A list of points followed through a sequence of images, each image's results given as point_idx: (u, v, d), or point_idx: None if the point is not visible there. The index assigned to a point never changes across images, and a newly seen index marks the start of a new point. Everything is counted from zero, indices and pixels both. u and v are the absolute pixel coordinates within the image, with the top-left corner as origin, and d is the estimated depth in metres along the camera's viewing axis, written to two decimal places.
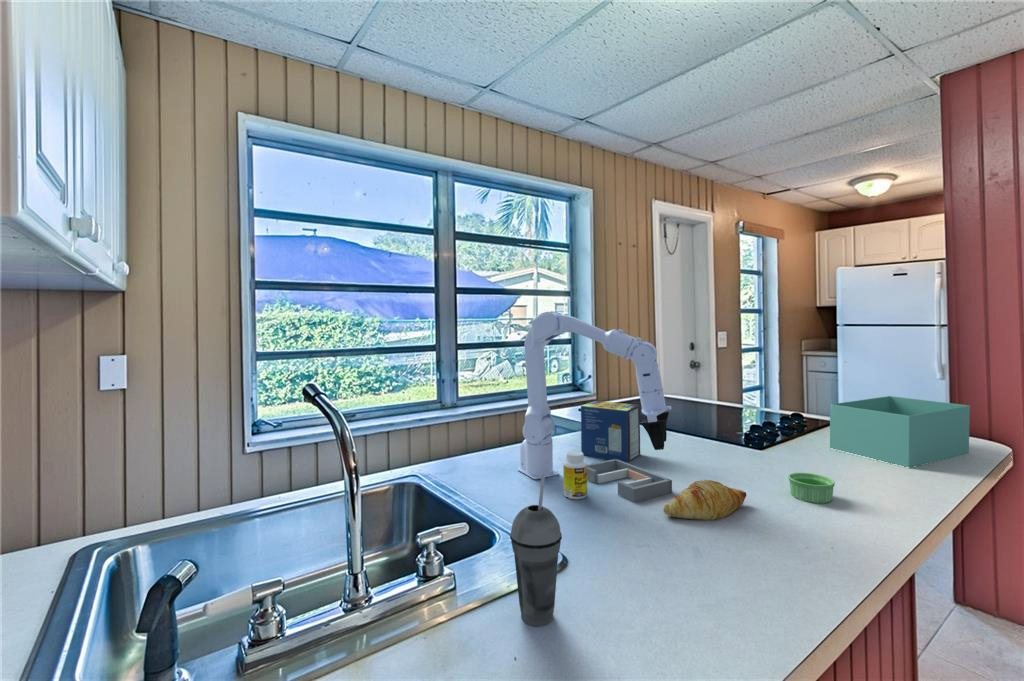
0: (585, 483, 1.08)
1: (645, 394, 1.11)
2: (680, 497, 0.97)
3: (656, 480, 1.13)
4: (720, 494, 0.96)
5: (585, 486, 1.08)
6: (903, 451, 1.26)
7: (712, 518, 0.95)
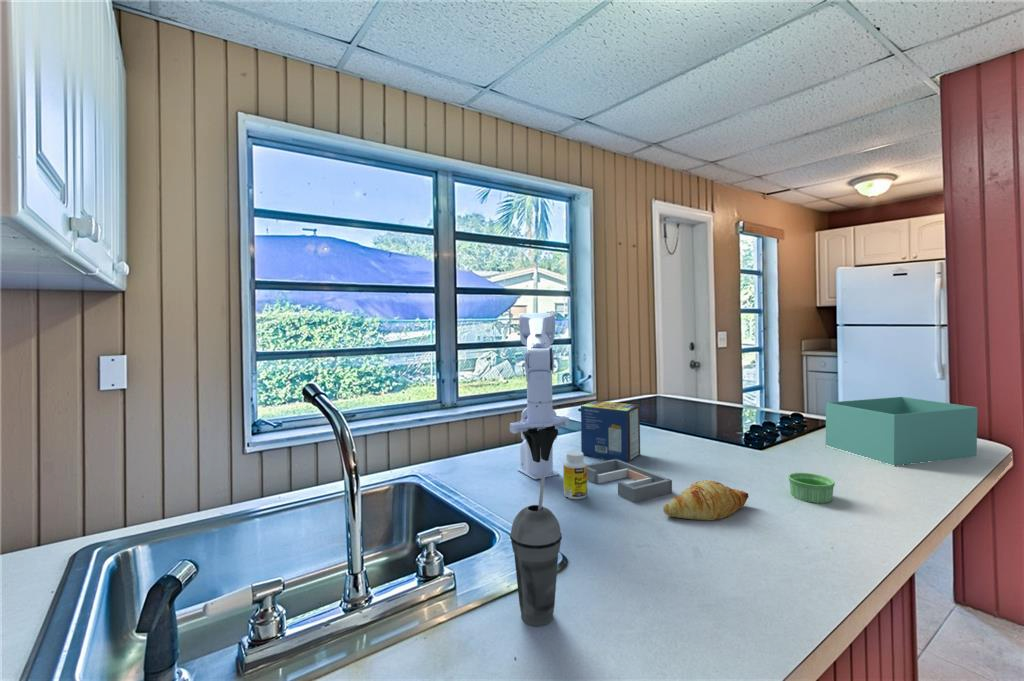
0: (585, 483, 1.08)
1: (527, 403, 1.04)
2: (680, 497, 0.97)
3: (656, 480, 1.13)
4: (720, 495, 0.95)
5: (585, 486, 1.08)
6: (889, 449, 1.28)
7: (712, 519, 0.94)
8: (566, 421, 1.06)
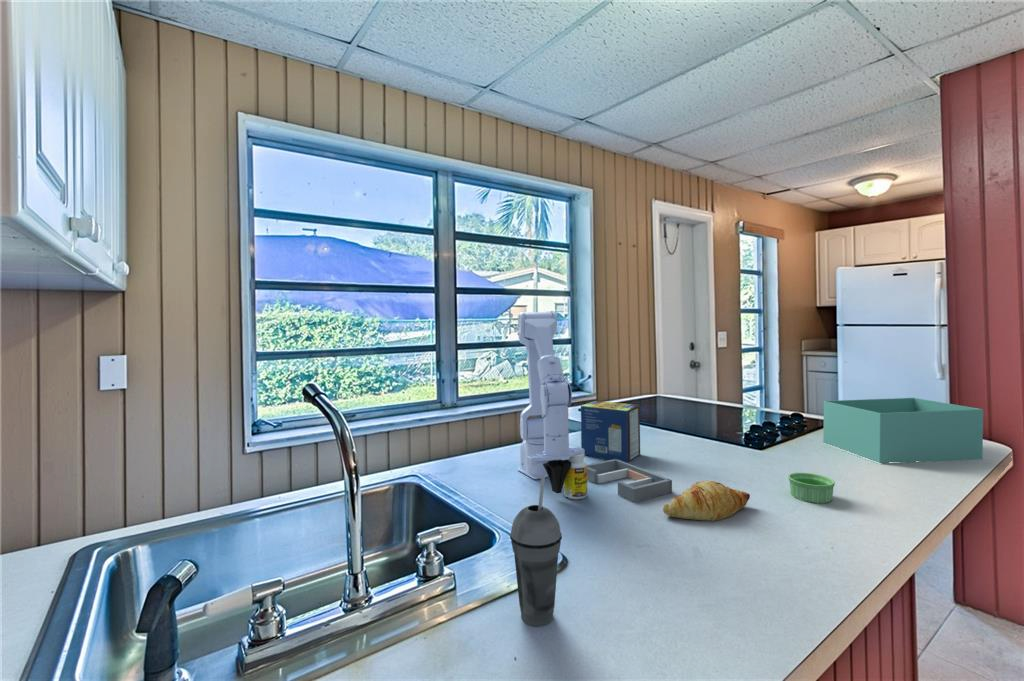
0: (585, 483, 1.08)
1: (544, 436, 1.06)
2: (680, 497, 0.97)
3: (656, 480, 1.13)
4: (721, 495, 0.95)
5: (585, 486, 1.08)
6: (875, 447, 1.30)
7: (712, 519, 0.94)
8: None
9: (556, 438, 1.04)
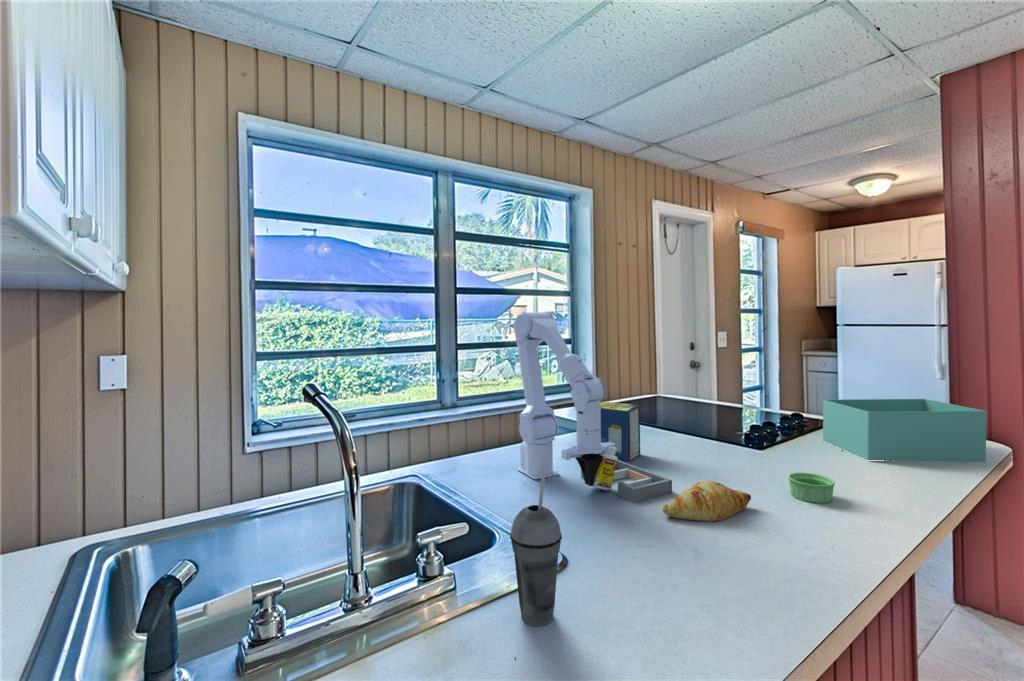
0: (612, 476, 1.11)
1: (577, 430, 1.10)
2: (680, 497, 0.97)
3: (656, 480, 1.13)
4: (721, 496, 0.95)
5: (611, 479, 1.11)
6: (864, 445, 1.32)
7: (712, 519, 0.94)
8: None
9: (589, 433, 1.08)
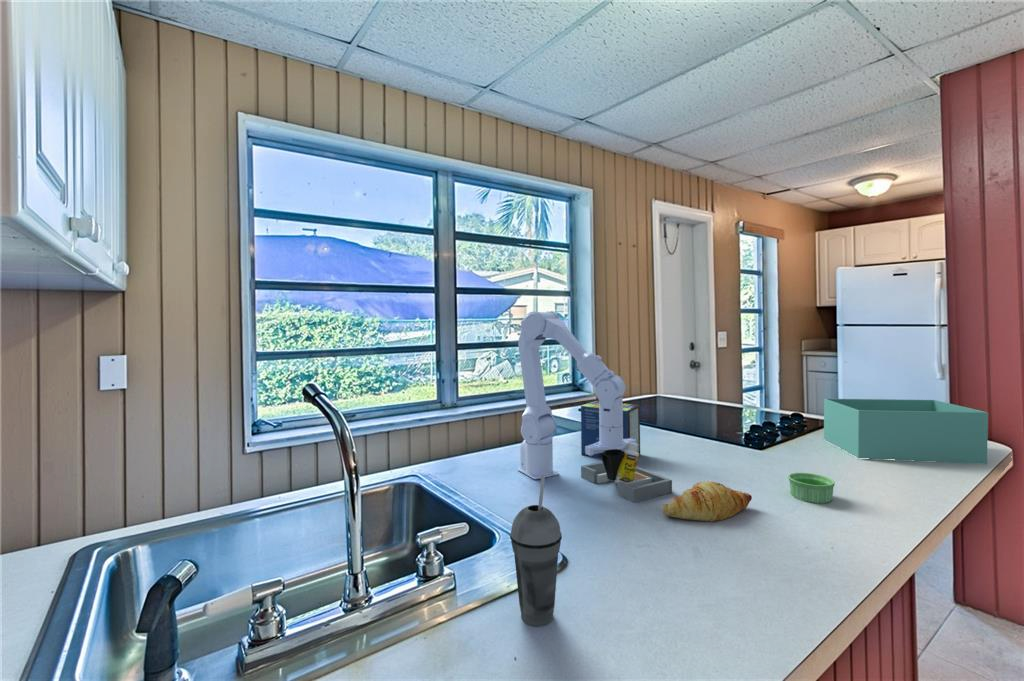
0: (633, 471, 1.14)
1: (599, 427, 1.14)
2: (680, 497, 0.97)
3: (656, 480, 1.13)
4: (720, 496, 0.95)
5: (633, 474, 1.14)
6: (855, 443, 1.34)
7: (712, 520, 0.94)
8: None
9: (612, 429, 1.11)
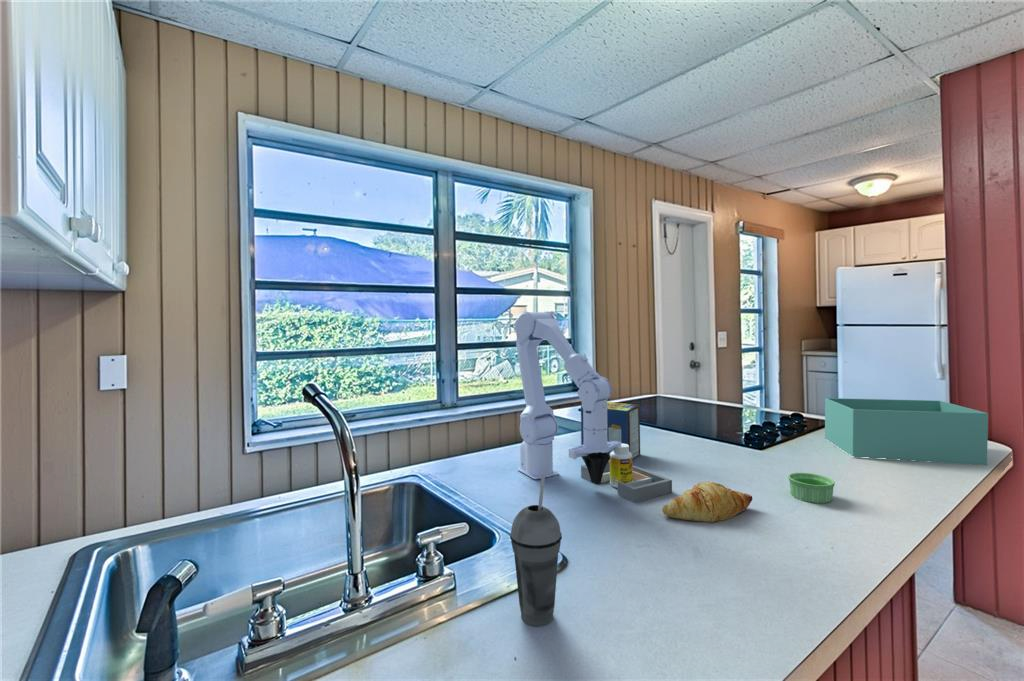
0: (630, 474, 1.14)
1: (583, 430, 1.11)
2: (680, 498, 0.97)
3: (656, 480, 1.13)
4: (721, 497, 0.94)
5: (630, 476, 1.14)
6: (850, 442, 1.36)
7: (712, 520, 0.94)
8: (618, 446, 1.14)
9: (596, 432, 1.09)
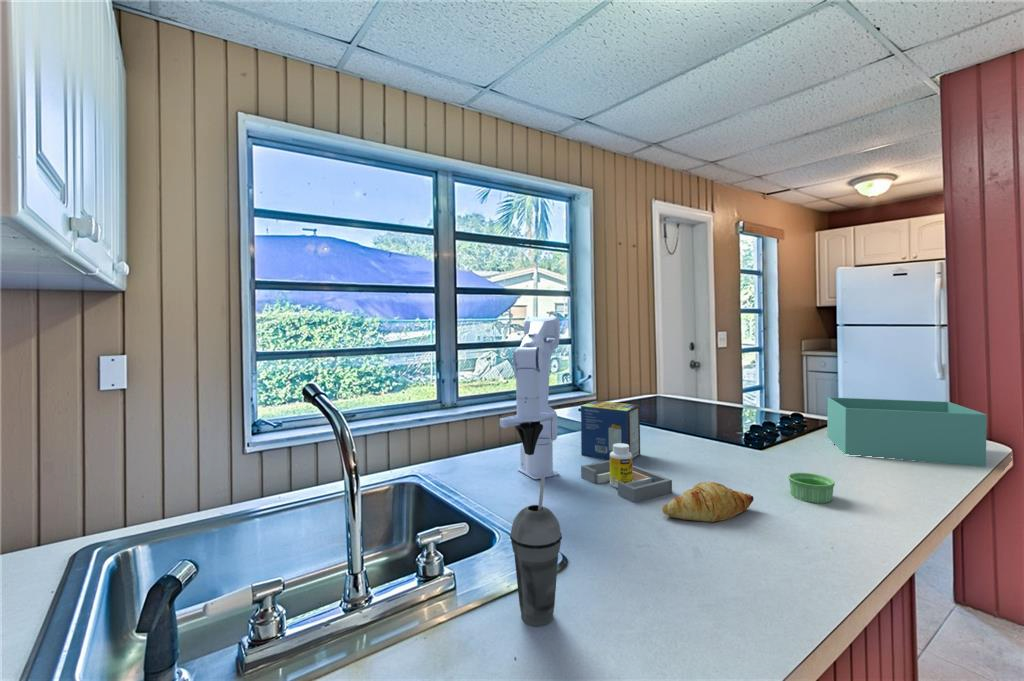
0: (630, 474, 1.14)
1: (516, 399, 1.09)
2: (680, 498, 0.97)
3: (656, 480, 1.13)
4: (721, 497, 0.94)
5: (630, 476, 1.14)
6: (843, 440, 1.38)
7: (712, 520, 0.94)
8: (554, 416, 1.12)
9: (527, 400, 1.07)
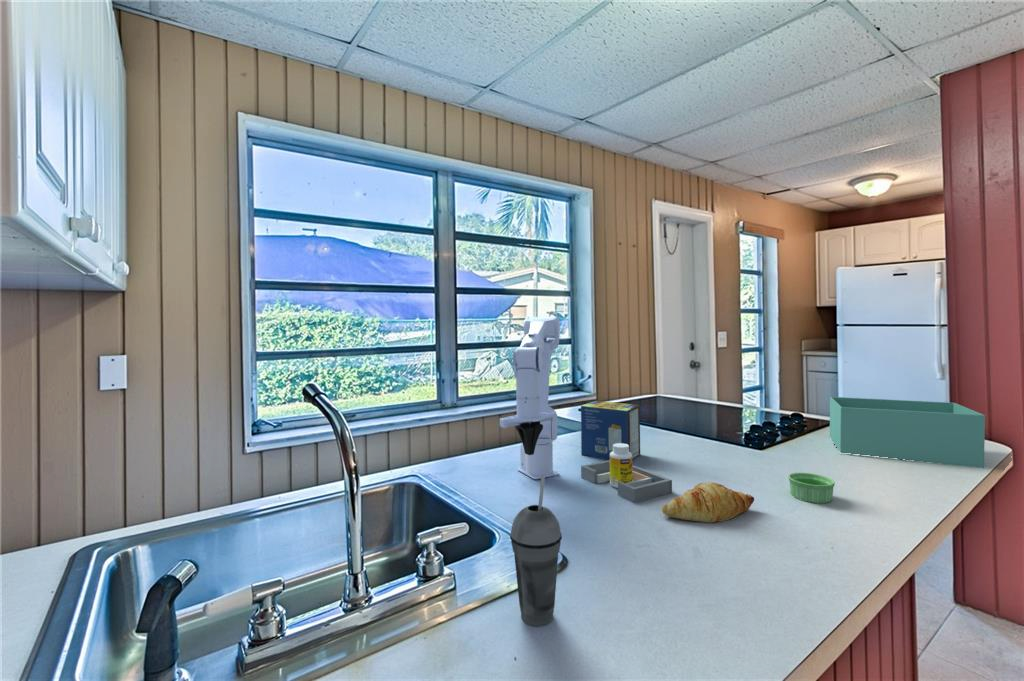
0: (630, 474, 1.14)
1: (516, 399, 1.09)
2: (680, 498, 0.97)
3: (656, 480, 1.13)
4: (721, 497, 0.94)
5: (630, 476, 1.14)
6: (839, 439, 1.40)
7: (711, 521, 0.93)
8: (554, 416, 1.12)
9: (527, 400, 1.07)
